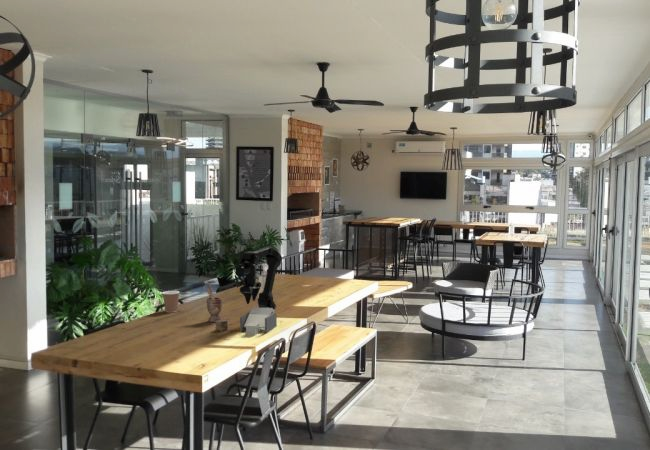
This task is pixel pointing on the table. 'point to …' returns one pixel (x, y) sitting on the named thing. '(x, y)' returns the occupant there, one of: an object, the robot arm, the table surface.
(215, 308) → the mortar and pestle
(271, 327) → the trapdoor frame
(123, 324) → the table surface
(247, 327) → the grey rectangular block
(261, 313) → the trapdoor
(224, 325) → the stand
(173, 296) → the coffee cup
